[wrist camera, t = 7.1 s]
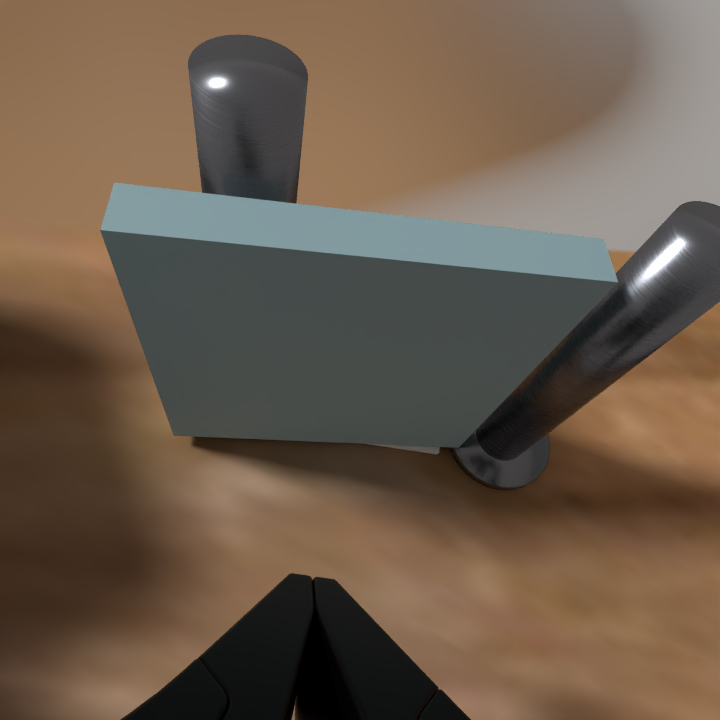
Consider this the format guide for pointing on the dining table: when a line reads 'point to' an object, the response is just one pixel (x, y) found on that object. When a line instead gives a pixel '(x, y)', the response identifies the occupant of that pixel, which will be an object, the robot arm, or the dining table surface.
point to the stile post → (248, 116)
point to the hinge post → (602, 346)
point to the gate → (339, 314)
